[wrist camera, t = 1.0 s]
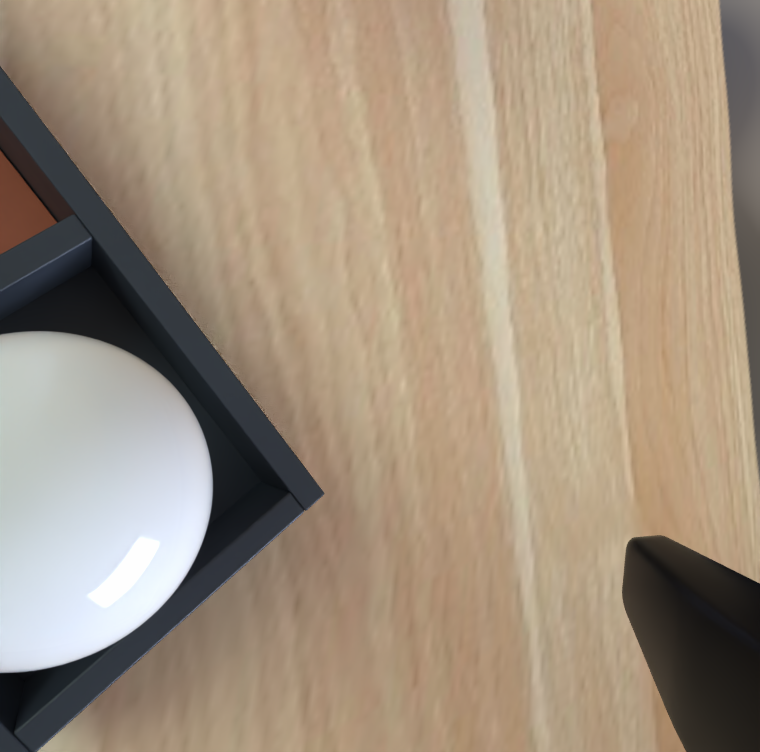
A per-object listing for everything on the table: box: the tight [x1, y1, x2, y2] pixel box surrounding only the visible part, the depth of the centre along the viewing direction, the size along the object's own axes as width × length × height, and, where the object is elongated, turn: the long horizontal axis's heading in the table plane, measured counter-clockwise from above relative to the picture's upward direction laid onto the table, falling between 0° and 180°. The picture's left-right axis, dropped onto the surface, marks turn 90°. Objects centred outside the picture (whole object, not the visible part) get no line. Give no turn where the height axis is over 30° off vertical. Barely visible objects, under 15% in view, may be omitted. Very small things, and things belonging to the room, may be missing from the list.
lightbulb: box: [0, 331, 213, 673], centre depth 14 cm, size 6×6×11 cm
